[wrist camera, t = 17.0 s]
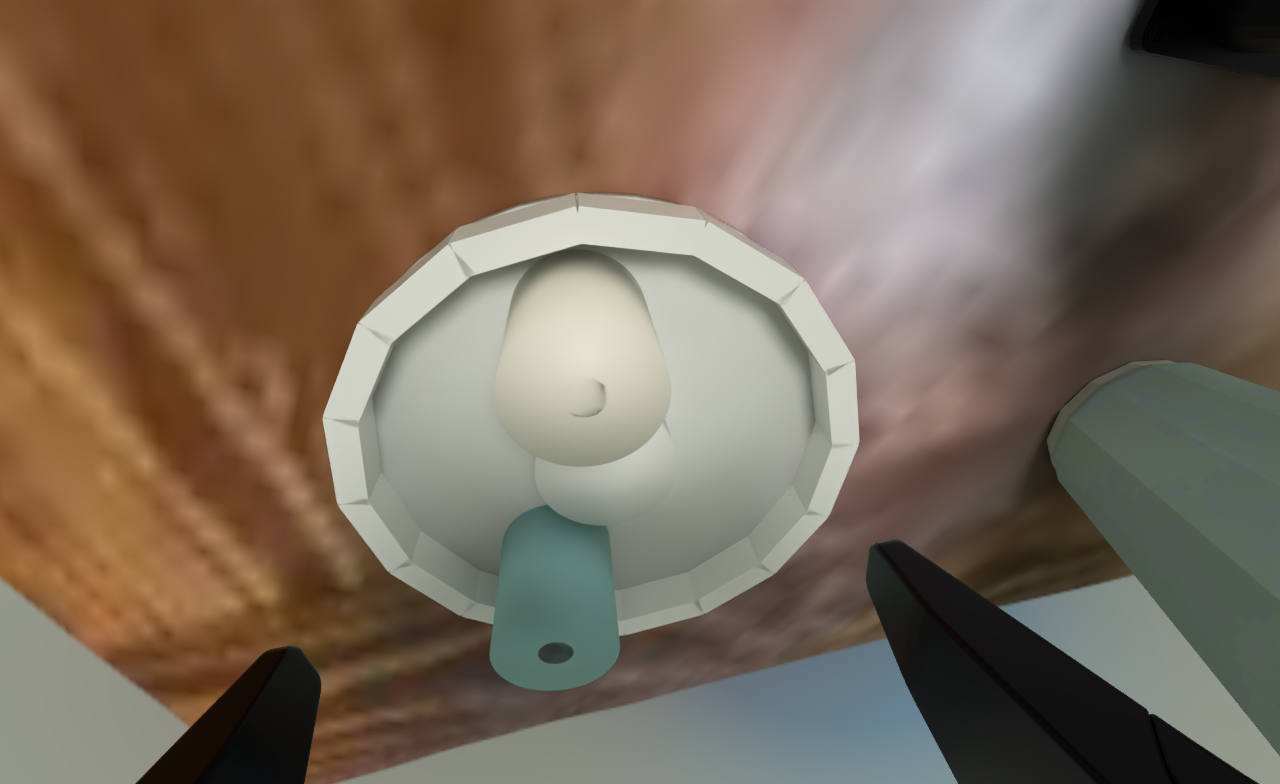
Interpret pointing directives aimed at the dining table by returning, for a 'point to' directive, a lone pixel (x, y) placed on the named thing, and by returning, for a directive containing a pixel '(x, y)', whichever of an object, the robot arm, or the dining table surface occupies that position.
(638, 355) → the cream bead
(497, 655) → the teal bead
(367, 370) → the groove dish
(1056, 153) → the dining table surface
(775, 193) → the dining table surface
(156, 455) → the dining table surface
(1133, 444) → the disposable coffee cup
